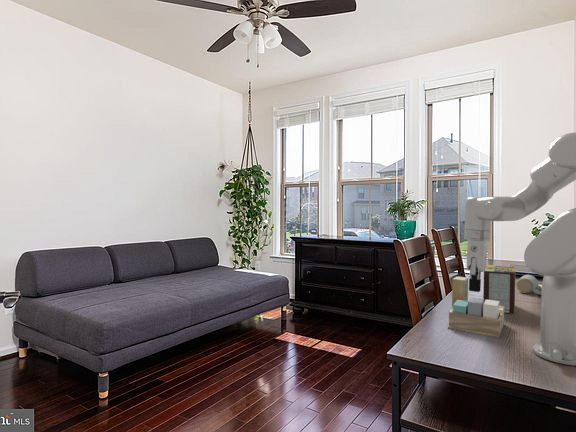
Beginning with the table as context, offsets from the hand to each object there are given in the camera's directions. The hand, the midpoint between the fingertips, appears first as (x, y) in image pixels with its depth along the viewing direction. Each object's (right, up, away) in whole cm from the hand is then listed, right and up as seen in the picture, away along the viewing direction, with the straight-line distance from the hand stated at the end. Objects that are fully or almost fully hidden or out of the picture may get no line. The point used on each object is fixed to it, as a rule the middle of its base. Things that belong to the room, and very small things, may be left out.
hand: (474, 290), depth 119 cm
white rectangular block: (+4, -8, -3) cm, 9 cm away
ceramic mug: (+51, -11, +49) cm, 72 cm away
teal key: (-3, -10, +2) cm, 10 cm away
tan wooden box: (+1, -12, +1) cm, 12 cm away
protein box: (+22, -12, +24) cm, 34 cm away
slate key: (0, -8, 0) cm, 8 cm away
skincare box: (+5, -12, +21) cm, 24 cm away
